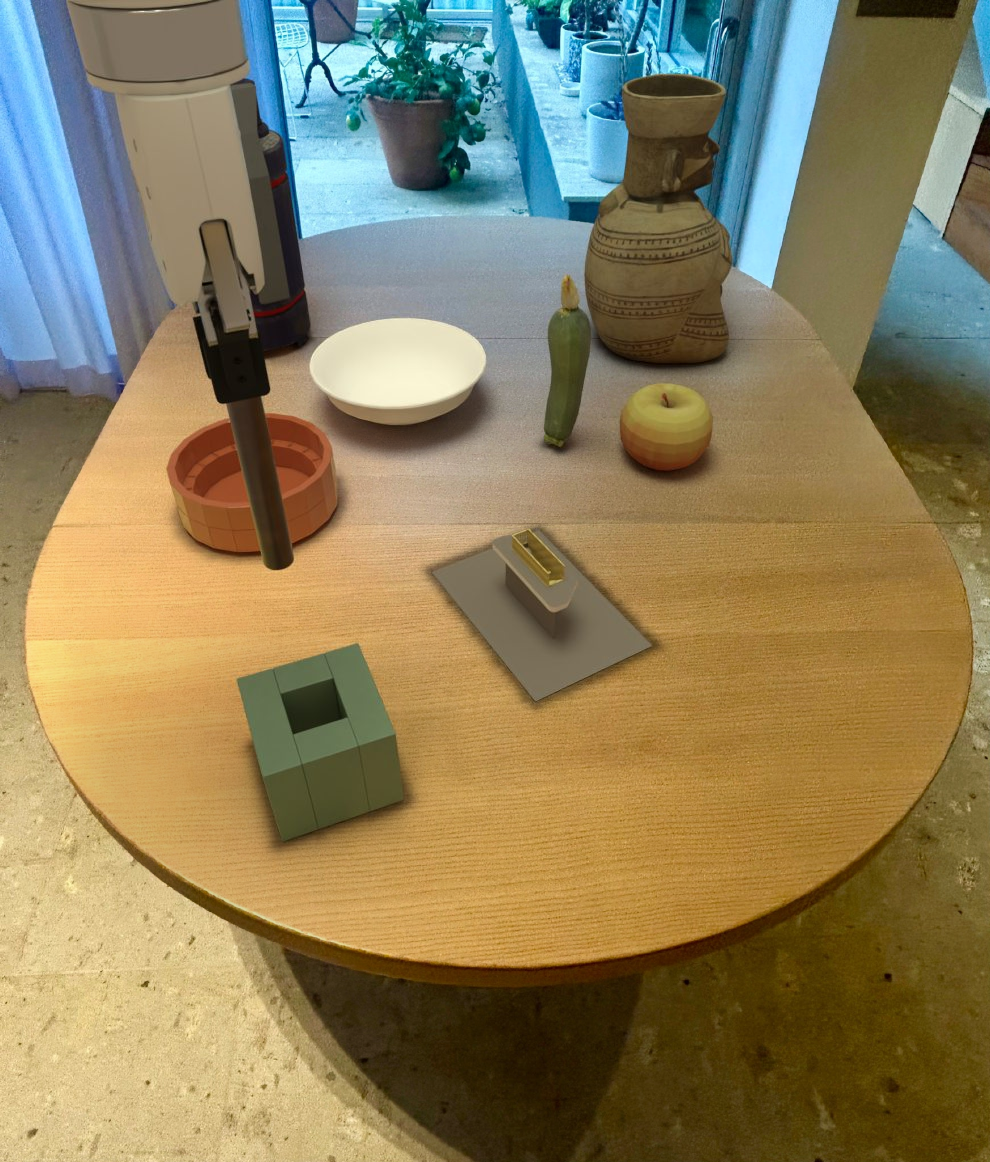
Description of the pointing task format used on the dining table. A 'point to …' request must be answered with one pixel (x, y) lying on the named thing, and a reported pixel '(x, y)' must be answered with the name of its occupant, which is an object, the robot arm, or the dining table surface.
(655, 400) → the apple
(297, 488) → the mixing bowl
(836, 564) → the dining table surface
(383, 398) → the bowl
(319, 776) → the stand
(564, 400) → the vegetable
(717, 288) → the ceramic vessel
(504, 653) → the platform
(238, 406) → the stick
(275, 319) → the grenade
